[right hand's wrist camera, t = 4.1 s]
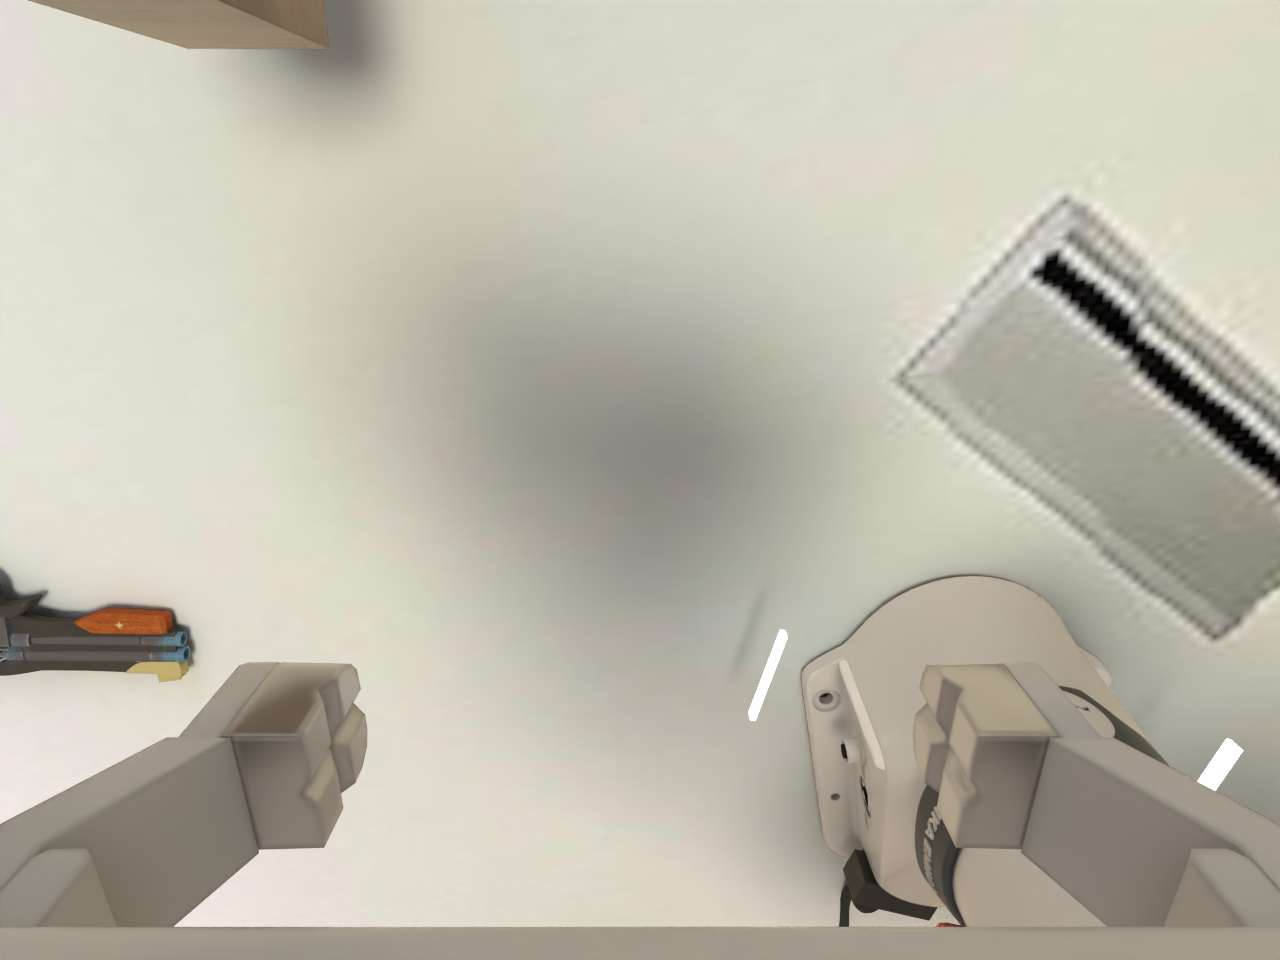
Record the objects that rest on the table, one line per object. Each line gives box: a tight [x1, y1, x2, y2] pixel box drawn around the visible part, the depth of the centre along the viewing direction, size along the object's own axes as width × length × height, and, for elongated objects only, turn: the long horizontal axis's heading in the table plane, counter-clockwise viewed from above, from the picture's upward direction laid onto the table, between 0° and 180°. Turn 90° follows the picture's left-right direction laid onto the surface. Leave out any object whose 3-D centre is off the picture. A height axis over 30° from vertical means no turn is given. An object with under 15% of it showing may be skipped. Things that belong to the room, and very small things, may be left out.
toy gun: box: [0, 584, 191, 682], centre depth 43 cm, size 3×19×10 cm
